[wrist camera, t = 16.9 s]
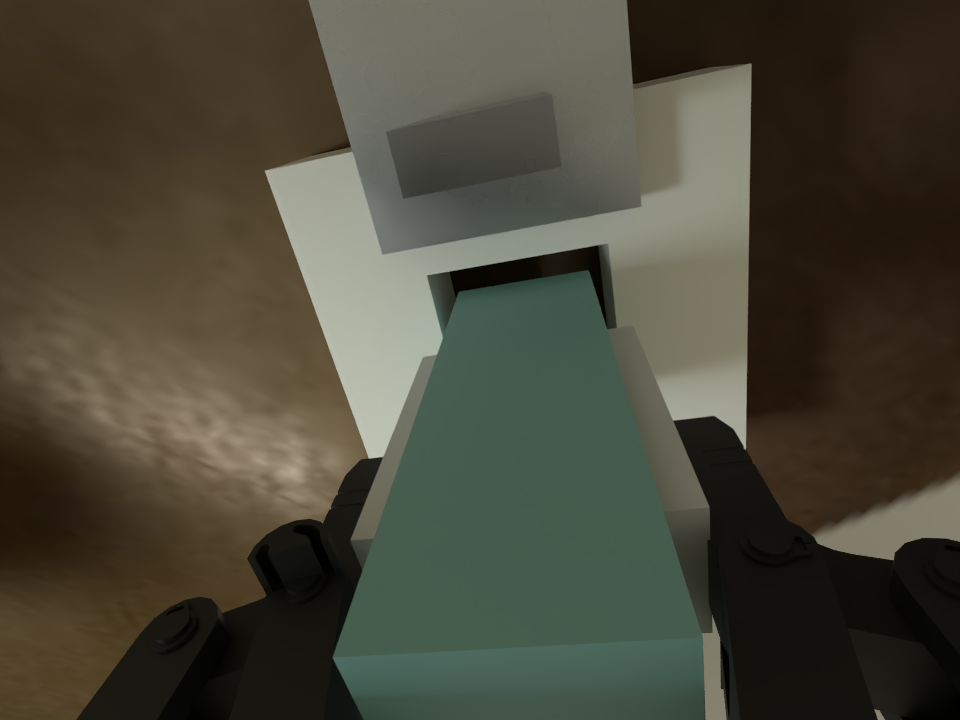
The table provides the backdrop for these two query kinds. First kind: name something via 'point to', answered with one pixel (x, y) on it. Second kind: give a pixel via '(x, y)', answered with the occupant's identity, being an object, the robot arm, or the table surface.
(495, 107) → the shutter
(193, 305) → the table surface
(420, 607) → the plug
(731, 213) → the socket
